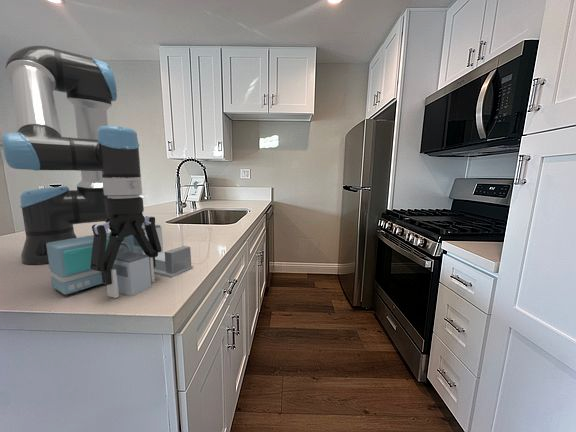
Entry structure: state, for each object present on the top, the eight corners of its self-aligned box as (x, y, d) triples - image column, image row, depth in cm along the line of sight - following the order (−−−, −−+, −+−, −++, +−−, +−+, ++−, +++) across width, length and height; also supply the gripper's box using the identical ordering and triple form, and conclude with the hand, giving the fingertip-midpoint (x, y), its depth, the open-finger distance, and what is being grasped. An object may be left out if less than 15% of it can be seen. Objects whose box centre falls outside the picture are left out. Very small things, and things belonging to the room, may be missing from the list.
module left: (126, 264, 77) (122, 227, 75) (148, 257, 84) (145, 223, 82) (142, 268, 74) (138, 229, 72) (163, 260, 81) (161, 225, 79)
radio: (66, 300, 57) (54, 212, 53) (52, 290, 61) (40, 208, 58) (139, 276, 70) (132, 205, 67) (122, 270, 75) (116, 202, 71)
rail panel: (124, 266, 77) (123, 255, 76) (147, 258, 84) (146, 248, 84) (171, 277, 69) (170, 265, 69) (192, 268, 77) (192, 256, 76)
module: (111, 290, 61) (108, 257, 60) (132, 282, 66) (129, 251, 65) (131, 296, 58) (127, 261, 57) (151, 287, 63) (148, 255, 62)
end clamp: (166, 272, 71) (164, 252, 70) (185, 264, 78) (184, 245, 77) (172, 273, 70) (171, 253, 69) (191, 265, 77) (190, 246, 76)
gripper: (81, 201, 47) (94, 312, 51) (173, 194, 67) (178, 275, 70) (58, 199, 50) (73, 305, 54) (153, 193, 70) (159, 271, 73)
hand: (132, 288), depth 62 cm, fingers open, 9 cm apart
